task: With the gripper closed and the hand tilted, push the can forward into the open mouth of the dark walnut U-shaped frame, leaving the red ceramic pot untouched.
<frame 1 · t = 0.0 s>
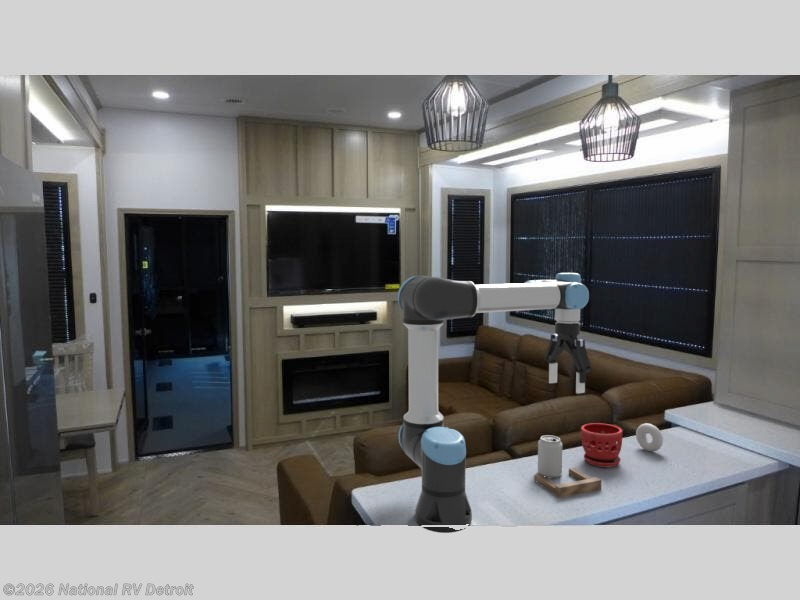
hand: (566, 387, 169), 28 cm above the counter, tool pointing down, fingers open, 13 cm apart
plant pot: (600, 462, 179), on the counter
donut: (648, 451, 189), on the counter
can: (549, 474, 170), on the counter
walnut frame: (566, 484, 162), on the counter
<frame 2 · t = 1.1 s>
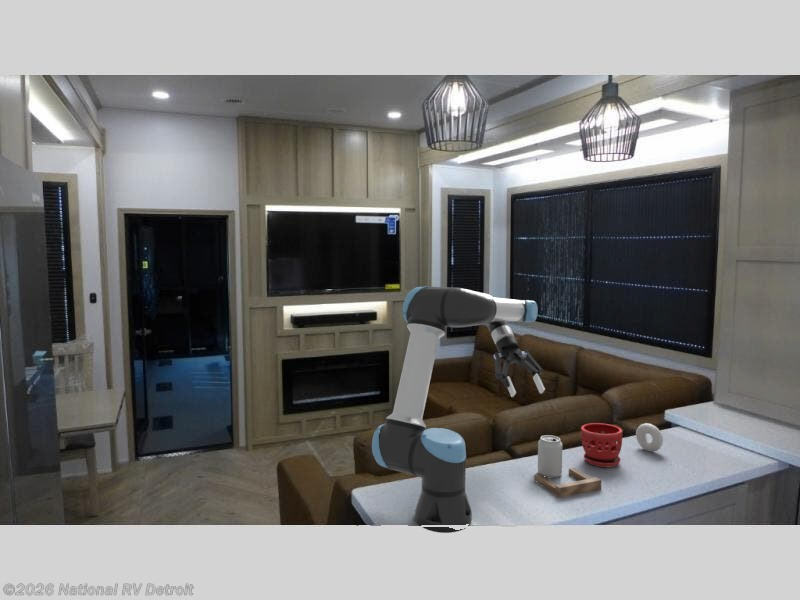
hand: (528, 393, 180), 23 cm above the counter, tool tilted 45°, fingers open, 11 cm apart
nothing on the counter moved.
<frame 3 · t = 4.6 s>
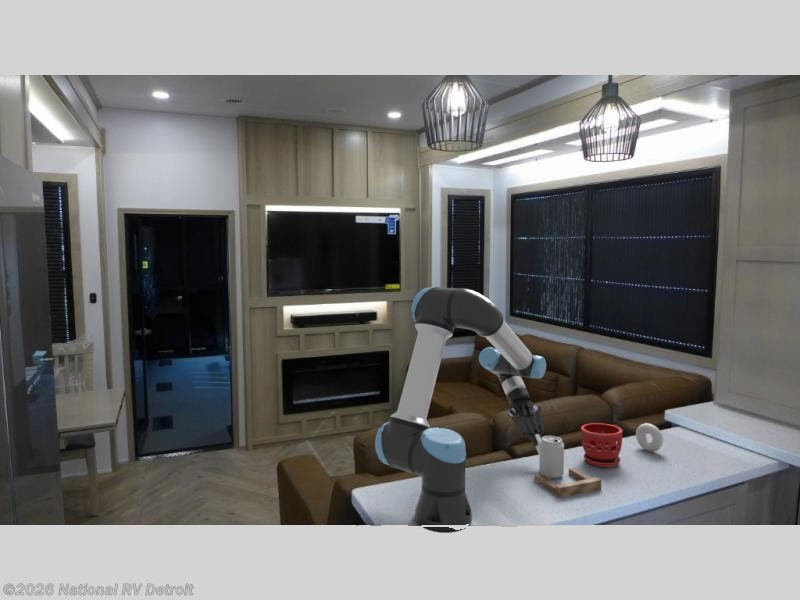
hand: (543, 454, 174), 5 cm above the counter, tool tilted 45°, fingers closed
can: (551, 475, 169), on the counter, touching gripper
everything else where it was.
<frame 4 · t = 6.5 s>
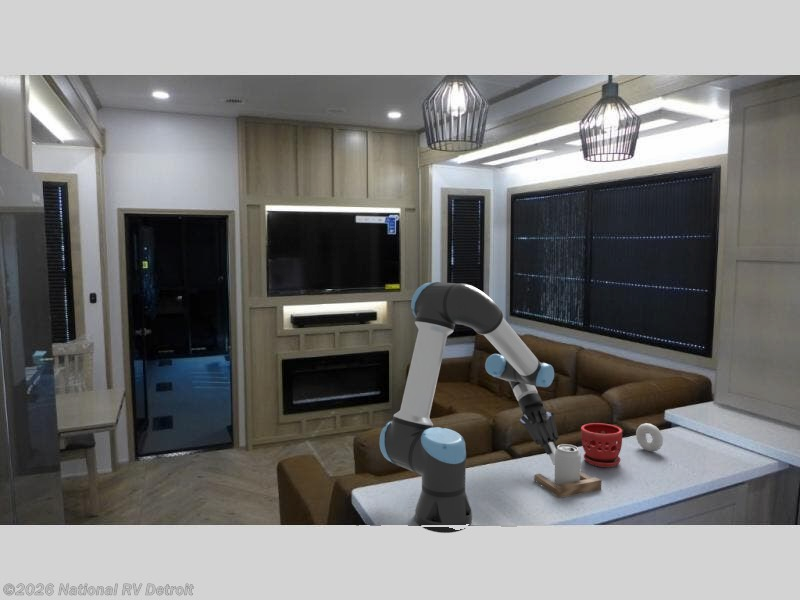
hand: (557, 463, 166), 5 cm above the counter, tool tilted 45°, fingers closed
can: (566, 485, 162), on the counter, touching gripper
everything else where it was.
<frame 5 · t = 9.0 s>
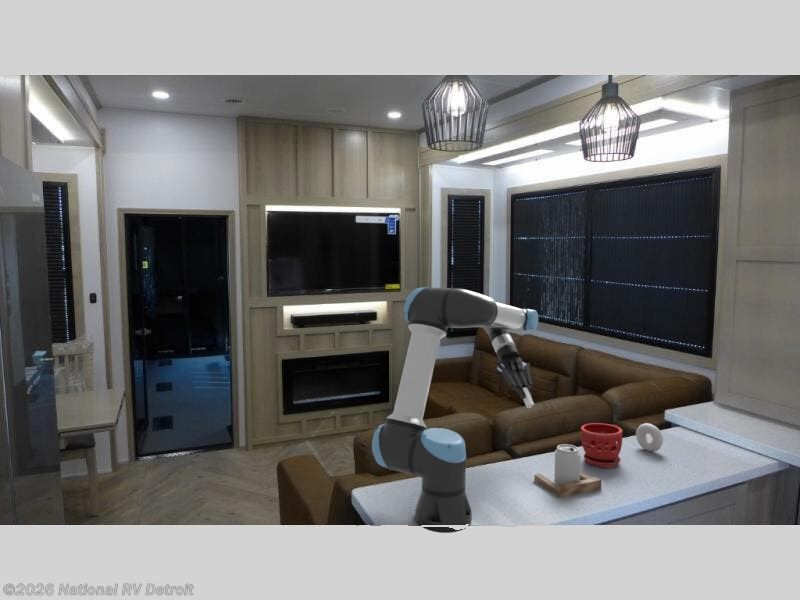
hand: (530, 406, 179), 19 cm above the counter, tool tilted 45°, fingers closed
can: (566, 485, 162), on the counter
everything else where it was.
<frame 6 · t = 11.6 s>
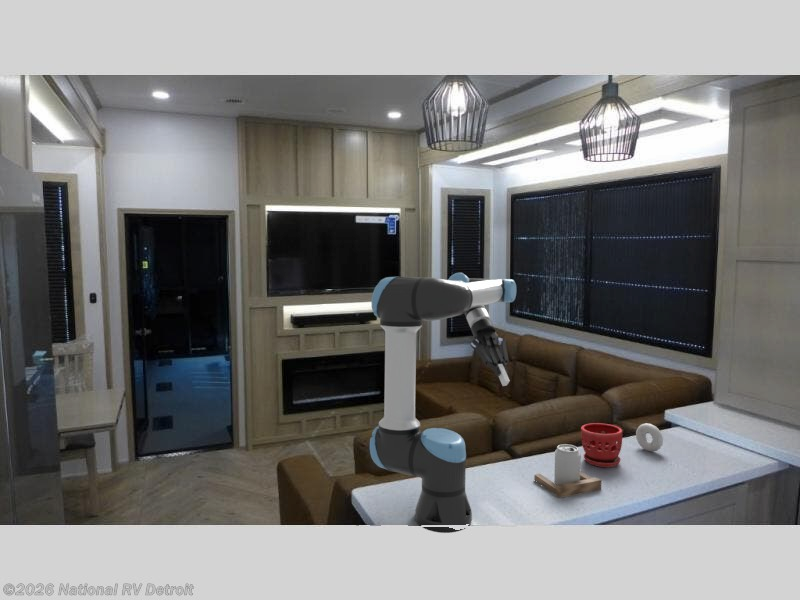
hand: (506, 383, 166), 30 cm above the counter, tool tilted 45°, fingers closed
nothing on the counter moved.
at the end: can inside the target area (0.3 cm from its centre), on the counter; can tilted 0°; plant pot moved 0.3 cm from its start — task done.
